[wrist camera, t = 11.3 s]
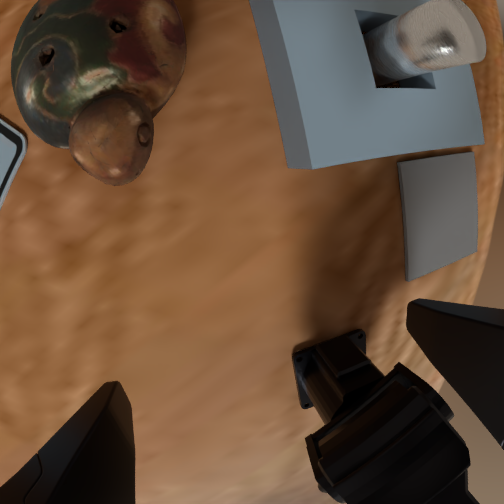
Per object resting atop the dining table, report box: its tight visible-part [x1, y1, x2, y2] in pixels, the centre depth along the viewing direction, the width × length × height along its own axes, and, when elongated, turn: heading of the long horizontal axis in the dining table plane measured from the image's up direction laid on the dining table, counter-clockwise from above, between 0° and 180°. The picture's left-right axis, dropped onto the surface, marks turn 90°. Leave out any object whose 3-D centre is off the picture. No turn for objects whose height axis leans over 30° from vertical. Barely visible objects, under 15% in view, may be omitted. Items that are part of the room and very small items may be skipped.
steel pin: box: [362, 0, 486, 87], centre depth 15 cm, size 4×4×10 cm
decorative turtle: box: [11, 0, 186, 186], centre depth 13 cm, size 10×15×8 cm, turn 23°
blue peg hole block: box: [249, 0, 485, 169], centre depth 17 cm, size 14×16×4 cm
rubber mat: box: [397, 152, 478, 282], centre depth 24 cm, size 10×10×1 cm
